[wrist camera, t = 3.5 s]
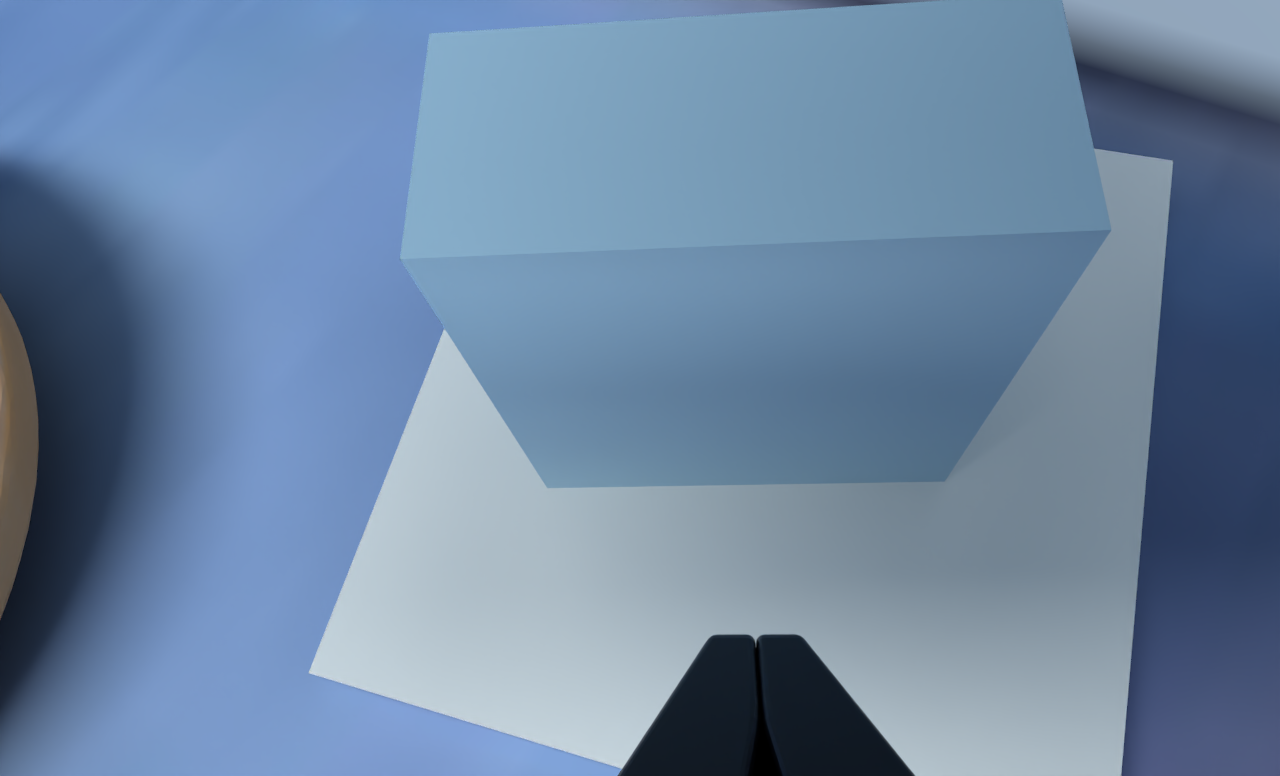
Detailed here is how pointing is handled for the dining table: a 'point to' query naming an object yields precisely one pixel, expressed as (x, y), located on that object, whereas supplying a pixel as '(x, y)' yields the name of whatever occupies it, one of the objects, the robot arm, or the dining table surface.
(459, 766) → the dining table surface
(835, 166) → the box
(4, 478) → the saucer
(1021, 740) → the mat
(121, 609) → the dining table surface
